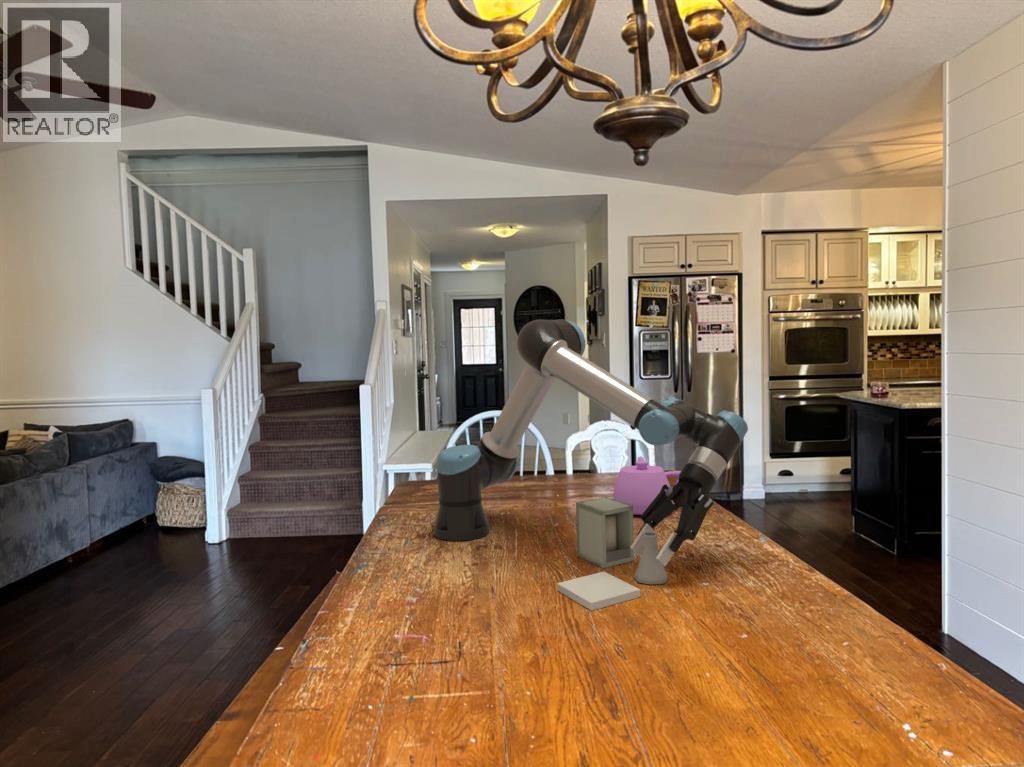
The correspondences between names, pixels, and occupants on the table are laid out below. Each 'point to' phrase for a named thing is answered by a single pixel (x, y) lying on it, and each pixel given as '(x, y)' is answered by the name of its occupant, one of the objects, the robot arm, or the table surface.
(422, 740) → the table surface
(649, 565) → the flask
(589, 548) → the dispenser box
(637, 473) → the teapot
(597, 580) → the plate
